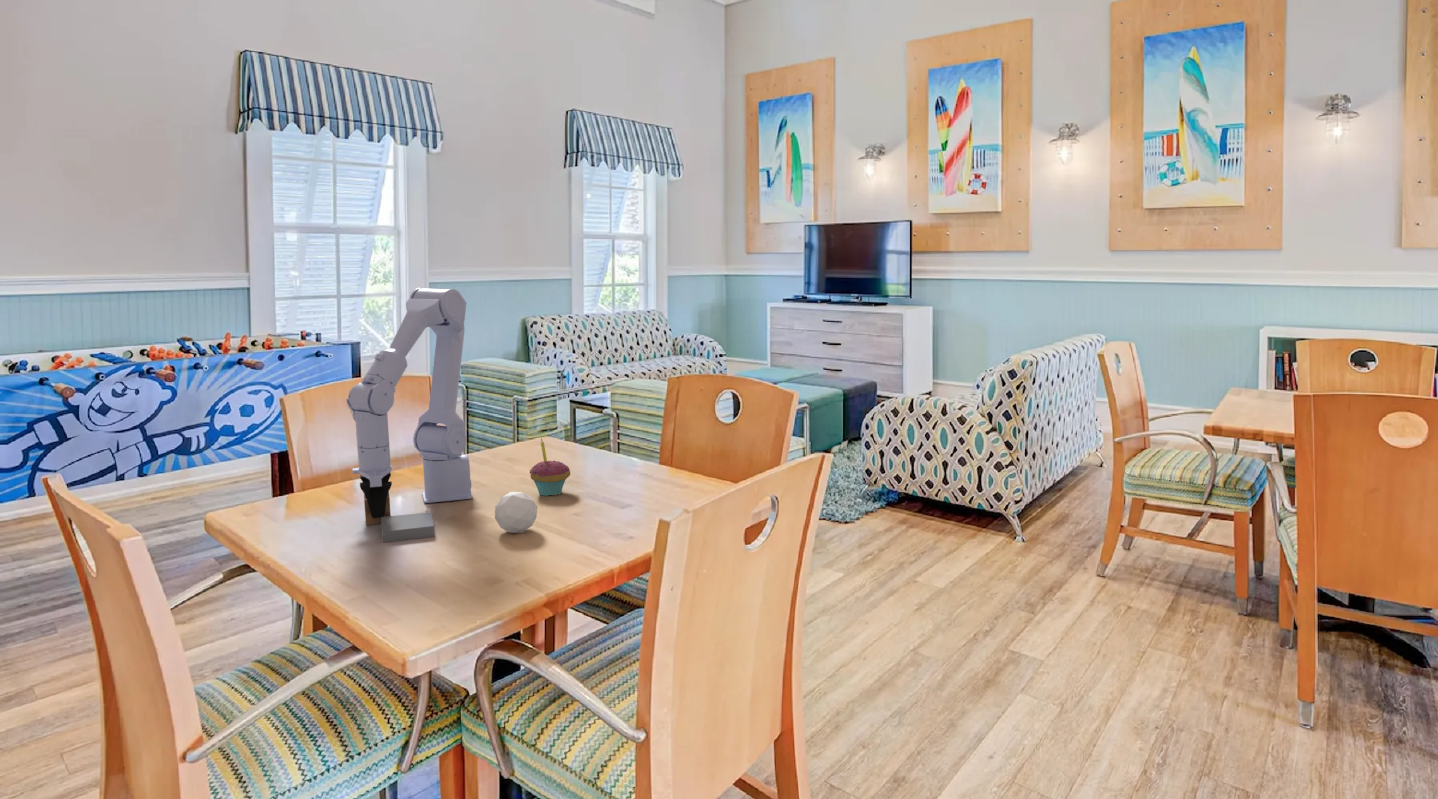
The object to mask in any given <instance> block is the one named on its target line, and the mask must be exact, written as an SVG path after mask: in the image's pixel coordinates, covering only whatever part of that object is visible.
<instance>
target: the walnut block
mask: <svg viewBox="0 0 1438 799" xmlns="http://www.w3.org/2000/svg"><path fill="white" fill-rule="evenodd" d="M363 495H364V496H363V500H364V501H363V502H364V516H365V526H371V525H381V518H372V516H371V513H370V509H369V505H368V501H367V499H366V496H365V494H364V493H363ZM388 516H392V514H391V499H390V491H389V492H388V495H387V500H386V508H385V514H384V517H388Z"/></svg>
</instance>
